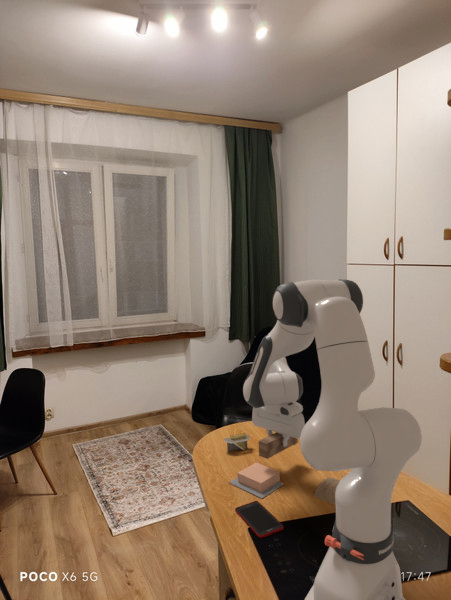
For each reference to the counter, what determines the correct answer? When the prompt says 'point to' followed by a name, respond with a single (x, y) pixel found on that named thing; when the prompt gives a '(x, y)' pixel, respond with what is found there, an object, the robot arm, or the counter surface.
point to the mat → (255, 492)
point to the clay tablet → (327, 490)
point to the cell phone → (259, 519)
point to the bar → (274, 445)
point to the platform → (237, 442)
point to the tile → (258, 477)
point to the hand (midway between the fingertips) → (278, 443)
